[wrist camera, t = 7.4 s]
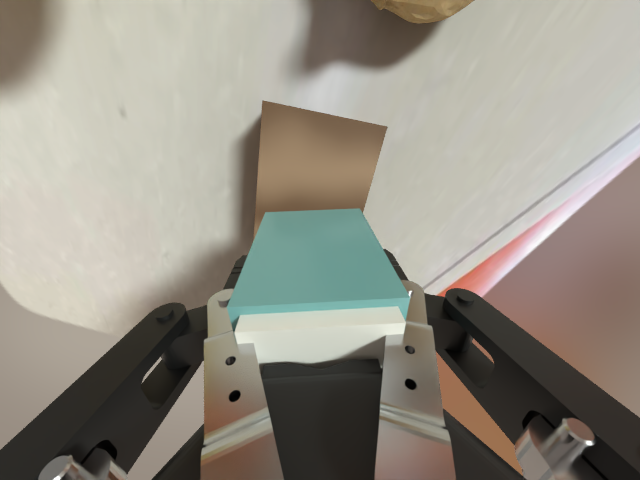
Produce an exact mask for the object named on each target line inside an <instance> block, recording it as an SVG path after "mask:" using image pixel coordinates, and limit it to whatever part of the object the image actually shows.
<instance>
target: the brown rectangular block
mask: <svg viewBox="0 0 640 480" xmlns="http://www.w3.org/2000/svg"><path fill="white" fill-rule="evenodd" d="M386 130H387V127H386V126H381V125H377V124H372V123H367V122H362V121H358V120H353V119H348V118H343V117H339V116H334V115H329V114H324V113H320V112H315V111H310V110H305V109H301V108H296V107H291V106H286V105H282V104H277V103H272V102H267V101H262V116H261V131H260V146H259V161H258V177H257V192H256V207H255V222H254V237H253V241H254V239H255V236H256V234H257V231H258V229H259V226H260V224H261V221H262V219H263V217H264V214H265V212H283V211H308V210H333V209H358V208H360V210H361V211H362V213H363V210H364V207H365V203H366V200H367V196H368V193H369V189H370V186H371V182H372V179H373V175H374V172H375V168H376V165H377V161H378V158H379V154H380V151H381V147H382V144H383V140H384V137H385V133H386Z"/></svg>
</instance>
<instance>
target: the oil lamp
mask: <svg viewBox="0 0 640 480" xmlns="http://www.w3.org/2000/svg"><path fill="white" fill-rule="evenodd" d="M371 1H372V2H373V3H374V4H375V5H376V7H377V8H378V9H379V10H382V9H387V10H389V11H391V12H393V13H394V14H396V15H398V16H399V17H401V18H403V19H404V20H406V21H408V22H412V23H430V22H436V21H441V20H444V19H446V18H448V17H450V16H452V15H454V14H455V13H457V12H459V11H460V10H462V9H463V8H465V7H466V6H467V5H469V4H470V3H471V2H473V1H474V0H371Z"/></svg>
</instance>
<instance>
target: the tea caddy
mask: <svg viewBox="0 0 640 480" xmlns="http://www.w3.org/2000/svg"><path fill="white" fill-rule="evenodd" d="M409 301H410V296H409V294H408V293H407V291H406V289H405V287H404V286H403V284H402V282H401V280H400V278H399V277H398V275H397V273H396V271H395V270H394V268H393V266H392V264H391V263H390V261H389V259H388V257H387V255H386V254H385V252H384V250H383V248H382V247H381V245H380V243H379V241H378V240H377V238H376V236H375V234H374V233H373V231H372V229H371V227H370V225H369V224H368V222H367V220H366V218H365V217H364V215H363V213H362V211H361V210H360V208H358V209H333V210H308V211H283V212H265V214H264V217H263V219H262V221H261V224H260V226H259V229H258V231H257V234H256V236H255V239H254V241H253V244H252V246H251V249H250V251H249V254H248V256H247V259H246V261H245V264H244V266H243V268H242V271H241V273H240V276H239V278H238V281H237V283H236V286H235V288H234V291H233V293H232V296H231V298H230V301H229V303H228V306H227V310H228V314H229V318H230V321H231V325H232V329H233V330H234V329H235V332H234V333H235V337H236V341H237V344H244V343H254V347H255V352H256V356H257V361H258V365H259V370H260V374H261V376H262V374H263V368H264V366H266V365H282V364H296V365H301V366H307V367H312V368H317V369H324V368H327V367H331V366H334V365H337V364H340V363H343V362H346V361H349V360H361V359H377V358H378V360H379V364H380V367H381V368H382V366H383V354H384V345H385V338H386V335H394V334H404V330H405V325H406V322H405V320H406V317H407V311H408V306H409Z"/></svg>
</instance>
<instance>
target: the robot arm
mask: <svg viewBox="0 0 640 480" xmlns="http://www.w3.org/2000/svg"><path fill="white" fill-rule="evenodd" d="M383 250H384V252H385V254H386V255H387V257H388V259H389V261H390V263H391V264H392V266H393V268H394V270H395V271H396V273H397V275H398V277H399V278H400V280H401V282H402V284H403V286H404V287H405V289H406V291H407V293H408V294H409V296H410V301H409V306H408V311H407V317H406V320H405V322H406V325H405V330H404V334H394V335H386V338H385V345H384V354H383V366H382V368H381V367H380V364H379V360H378V358H377V359H361V360H349V361H346V362H343V363H340V364H337V365H334V366H331V367H327V368H324V369H317V368H312V367H307V366H301V365H296V364H282V365H266V366H264V368H263V374H262V376H261V374H260V370H259V365H258V361H257V356H256V352H255V347H254V343H244V344H237V341H236V337H235V333H234V332H235V329H234V330H233V329H232V325H231V321H230V318H229V314H228V310H227V306H228V303H229V301H230V298H231V296H232V293H233V291H234V288H235V286H236V283H237V281H238V278H239V276H240V273H241V271H242V268H243V266H244V264H245V261H246V259H247V256H248V255H247V256H242V257H241V258H240V259H238V260H237V261H236V263H235V265H234V267H233V270H232V272H231V274H230V276H229V278H228V280H227V282H226V285H225V287H224V289H223V290H222V291H219V292H217V293H215V294H214V295H213V296H211V298H210V299H209V300H208V303H207V305H205V306H203V307H199V308H195V309H192V310H188V311H186V308H185V306H184V305H183V304H181V303H169V304H165V305H162V306H160V307H158V308H156V309H155V310H153V311H152V312H150V313H149V314H148V315H147V316H146V317H145V318H144V319H143V320H142V321H141V322H139V323H138V324H137V325H136V326H135V327H134V328H133V329H132V330H131V331H130V332H129V333H127V334H126V335H125V336H124V337H123V338H122V339H121V340H120V341H119V342H118V343H117V344H116V345H114V346H113V347H112V348H111V349H110V350H109V351H108V352H107V353H106V354H105V355H103V357H101V358H100V359H99V360H98V361H97V362H96V363H95V364H94V365H93V366H91V367H90V368H89V369H88V370H87V371H86V372H85V373H84V374H83V375H82V376H81V377H79V378H78V379H77V380H76V381H75V382H74V383H73V384H72V385H71V386H70V387H69V388H67V389H66V390H65V391H64V392H63V393H62V394H61V395H60V396H59V397H58V398H57V399H55V400H54V401H53V402H52V403H51V404H50V405H49V406H48V407H47V408H46V409H45V410H43V411H42V412H41V413H40V414H39V415H38V416H37V417H36V418H35V419H34V420H33V421H32V422H30V423H29V424H28V425H27V426H26V427H25V428H24V429H23V430H22V431H21V432H19V433H18V434H17V435H16V436H15V437H14V438H13V439H12V440H11V441H10V442H8V444H6V445H5V446H4V447H3V448H2V449H1V450H0V480H127V474H128V472H129V470H130V469H131V468H132V466H133V465H134V463H135V462H136V460H137V459H138V457H139V456H140V454H141V453H142V451H143V450H144V448H145V447H146V445H147V444H148V442H149V441H150V439H151V438H152V436H153V435H154V433H155V432H156V430H157V429H158V427H159V426H160V424H161V423H162V421H163V420H164V418H165V417H166V415H167V414H168V412H169V411H170V409H171V408H172V406H173V405H174V403H175V402H176V400H177V399H178V397H179V396H180V394H181V393H182V392H183V390H184V388H185V387H186V386H187V384H188V383H189V381H190V379H191V378H192V377H193V375H194V374H195V372H196V370H197V369H198V368H199V366H200V365H201V363H202V361H204V424H203V425H202V426H201V427H200V428H199V429H198V430H197V431H196V432H195V433H194V435H193V436H192V437H191V438H190V439H189V440H188V441H187V442H186V443H185V444H184V445H183V446H182V447H181V448H180V450H179V451H178V452H177V453H176V454H175V455H174V456H173V457H172V458H171V459H170V460H169V461H168V462H167V464H166V465H165V466H164V467H163V468H162V469H161V470H160V471H159V472H158V473H157V474H156V476H154V477H153V479H152V480H640V418H639V417H638V416H637V415H635V414H634V413H633V412H631V411H630V410H629V409H627V408H626V407H625V406H623V405H622V404H621V403H619V402H618V401H617V400H615V399H614V398H613V397H611V396H610V395H609V394H608V393H606V392H605V391H604V390H602V389H601V388H600V387H598V386H597V385H596V384H594V383H593V382H592V381H590V380H589V379H588V378H587V377H585V376H584V375H582V374H581V373H580V372H578V371H577V370H576V369H575V368H573V367H572V366H571V365H569V364H568V363H567V362H565V361H564V360H563V359H561V358H560V357H559V356H558V355H556V354H555V353H553V352H552V351H551V350H550V349H548V348H547V347H545V346H544V345H543V344H542V343H540V342H539V341H538V340H536V339H535V338H534V337H532V336H531V335H530V334H528V333H527V332H526V331H524V330H523V329H522V328H521V327H519V326H518V325H517V324H515V323H514V322H513V321H511V320H510V319H509V318H507V317H506V316H505V315H503V314H502V313H501V312H500V311H498V310H497V309H495V308H494V307H493V306H492V305H490V304H489V303H488V302H486V301H485V300H484V299H482V298H481V297H480V296H478V295H477V294H475V293H473V292H471V291H469V290H465V289H460V288H454V289H450V290H448V291H447V292H446V295H445V297H441V296H435V295H430V294H426V293H424V291H423V289H422V288H421V287H420V286H419V285H418V284H416V283H414V282H412V281H409V280H408V279H407V277H406V275H405V274H404V272H403V270H402V269H401V267H400V266H399V264H398V262H397V261H396V259H395V257H394V256H393V254H392V253H390V252H389V251H387V250H386V249H383ZM473 338H474V339H475V340H476V341H477V342H478V343H479V344H480V345H481V346H482V347H483V348H484V349H485V350H486V351H487V352H488V353H489V354H490V355H491V356H492V358H493V361H494V363H493V362H491V361H490V359H488V358H487V357H486V356H485V355H484V354H483V353H482V352H481V351H480V350H479V349H478V348H477V347H476V346H475V345H474V344H473V343H472V340H473ZM435 350H436V351H435ZM436 352H437V353H438V354H439V355H440V356H441V358H442V359H443V360H444V361H445V362H446V364H447V365H448V366H449V367H450V368H451V370H452V371H453V372H454V373H455V374H456V376H457V377H458V378H459V379H460V380H461V382H462V383H463V384H464V385H465V386H466V388H467V389H468V390H469V391H470V392H471V393H472V395H473V396H474V397H475V398H476V400H477V401H478V402H479V403H480V405H481V406H482V407H483V408H484V409H485V410H486V412H487V413H488V414H489V415H490V416H491V418H492V419H493V420H494V421H495V423H496V424H497V425H498V426H499V427H500V428H501V430H502V431H503V432H504V433H505V435H506V436H507V437H508V438H509V439H510V441H511V442H512V443H513V444H514V445H515V453H516V457H517V460H518V462H519V464H520V466H521V468H522V473H523V476H524V477H523V476H522V475H521V474H520V473H518V472H517V471H516V470H515V469H514V468H513V467H511V466H510V465H509V464H508V463H507V462H506V461H504V460H503V459H502V458H501V457H499V456H498V455H497V454H496V453H495V452H494V451H493V450H491V449H490V448H489V447H488V446H487V445H486V444H484V443H483V442H482V441H481V440H480V439H479V438H477V437H476V436H475V435H474V434H473V433H471V432H470V431H469V430H468V429H467V428H466V427H464V426H463V425H462V424H461V423H460V422H459V421H457V420H456V419H455V418H454V417H453V416H451V415H450V414H449V413H448V412H447V411H446V410H444V409H443V407H442V399H441V392H440V384H439V375H438V367H437V359H436ZM159 357H161V358H162V360H161V361H160V363H159V364H158V365H157V366H156V367H155V369H154V370H153V371H152V372H151V373H150V374H149V376H148V377H147V378H146V379H145V381H144V382H143V383H142V380H143V377H144V376H145V374H146V373H147V372H148V371H149V369H150V368H151V367H152V366H153V365H154V364H155V362H156V361H157V360H158V359H159ZM141 383H142V384H141Z"/></svg>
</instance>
